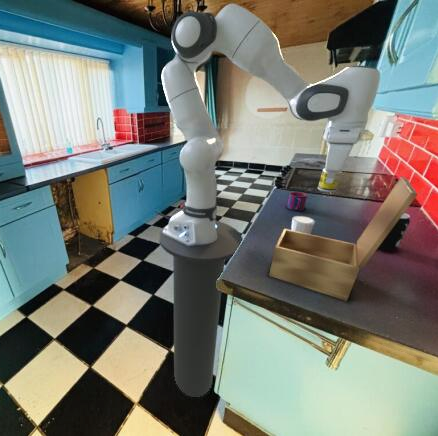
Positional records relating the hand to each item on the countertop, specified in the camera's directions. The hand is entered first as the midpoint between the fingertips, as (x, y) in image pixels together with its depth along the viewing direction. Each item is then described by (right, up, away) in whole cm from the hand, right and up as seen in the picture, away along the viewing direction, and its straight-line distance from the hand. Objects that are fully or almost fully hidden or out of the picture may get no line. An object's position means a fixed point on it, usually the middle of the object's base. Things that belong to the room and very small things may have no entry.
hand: (329, 180), depth 73 cm
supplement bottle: (0, -3, +1) cm, 3 cm away
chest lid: (-3, -13, -19) cm, 23 cm away
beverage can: (+22, -21, +5) cm, 31 cm away
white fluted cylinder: (0, -19, +14) cm, 23 cm away
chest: (-10, -28, -5) cm, 30 cm away
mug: (+12, -8, +36) cm, 39 cm away
